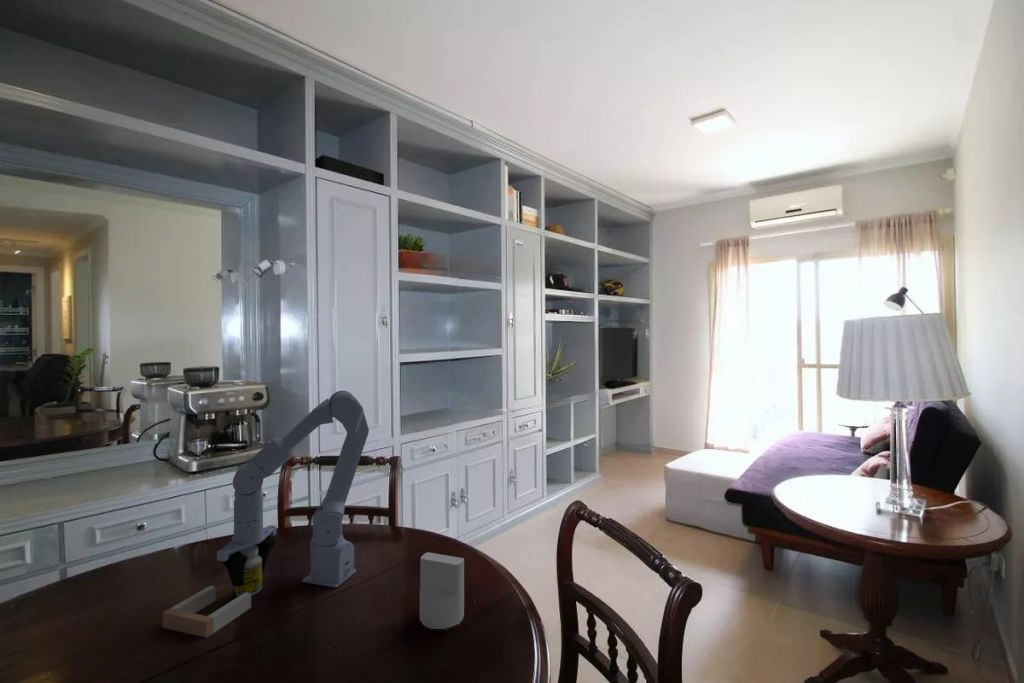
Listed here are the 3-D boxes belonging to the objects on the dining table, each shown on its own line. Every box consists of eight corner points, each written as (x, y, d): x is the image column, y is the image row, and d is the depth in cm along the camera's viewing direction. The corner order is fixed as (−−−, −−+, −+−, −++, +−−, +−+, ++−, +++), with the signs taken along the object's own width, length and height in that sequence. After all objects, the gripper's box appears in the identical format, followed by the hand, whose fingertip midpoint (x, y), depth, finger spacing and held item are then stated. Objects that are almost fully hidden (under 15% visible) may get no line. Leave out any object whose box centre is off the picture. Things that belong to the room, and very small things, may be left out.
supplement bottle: (261, 583, 110) (260, 541, 110) (263, 593, 105) (263, 550, 105) (234, 589, 107) (233, 547, 107) (235, 600, 103) (235, 556, 102)
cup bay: (251, 607, 100) (251, 593, 100) (206, 637, 90) (206, 622, 90) (210, 599, 103) (210, 585, 103) (162, 627, 93) (162, 612, 93)
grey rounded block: (471, 609, 100) (471, 552, 100) (452, 634, 91) (452, 572, 91) (433, 601, 103) (433, 546, 103) (411, 624, 94) (411, 564, 94)
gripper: (259, 505, 114) (259, 561, 114) (205, 528, 100) (205, 592, 100) (283, 508, 112) (283, 565, 112) (232, 532, 98) (231, 597, 98)
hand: (248, 578), depth 106 cm, fingers open, 5 cm apart
